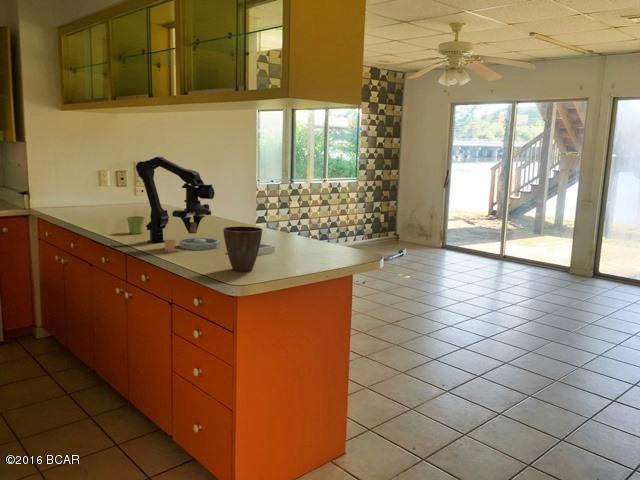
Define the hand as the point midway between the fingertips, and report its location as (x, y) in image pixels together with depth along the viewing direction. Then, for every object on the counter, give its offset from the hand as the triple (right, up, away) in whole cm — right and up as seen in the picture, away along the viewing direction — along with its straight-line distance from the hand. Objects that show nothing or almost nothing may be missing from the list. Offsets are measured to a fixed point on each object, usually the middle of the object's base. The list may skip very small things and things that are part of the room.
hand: (192, 230), depth 255 cm
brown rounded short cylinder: (0, -1, 0) cm, 1 cm away
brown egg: (-6, -10, -17) cm, 21 cm away
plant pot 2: (+31, -16, -48) cm, 59 cm away
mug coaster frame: (+30, -10, -13) cm, 34 cm away
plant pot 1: (-37, -1, +29) cm, 47 cm away
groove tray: (+4, -7, -2) cm, 9 cm away
